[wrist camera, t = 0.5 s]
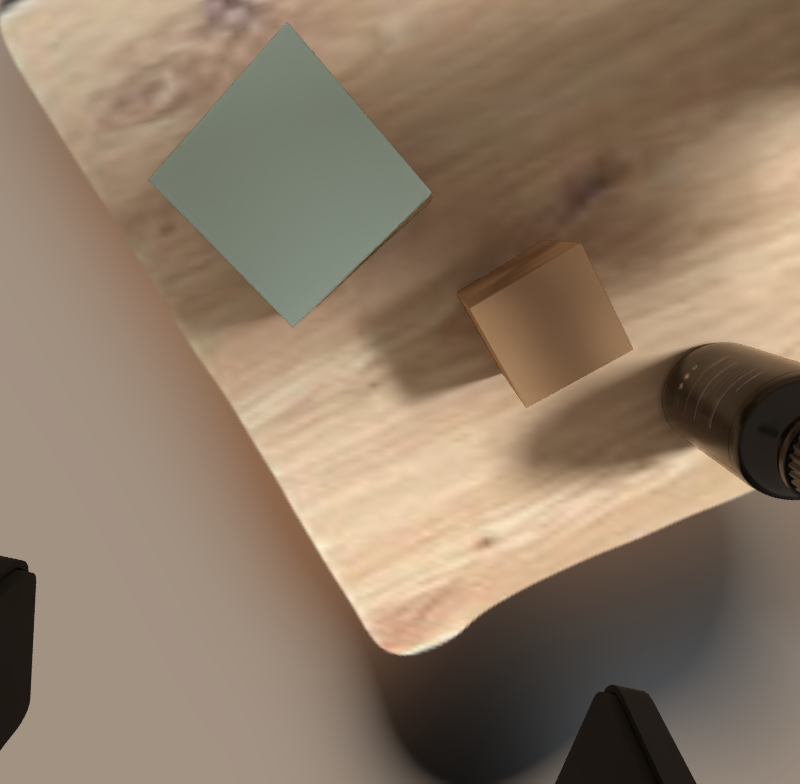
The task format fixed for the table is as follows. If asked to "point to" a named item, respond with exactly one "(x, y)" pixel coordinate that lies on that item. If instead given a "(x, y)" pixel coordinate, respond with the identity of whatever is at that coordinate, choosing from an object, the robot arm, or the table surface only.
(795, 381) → the supplement bottle
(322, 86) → the tower top slab
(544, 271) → the walnut block
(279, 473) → the table surface
